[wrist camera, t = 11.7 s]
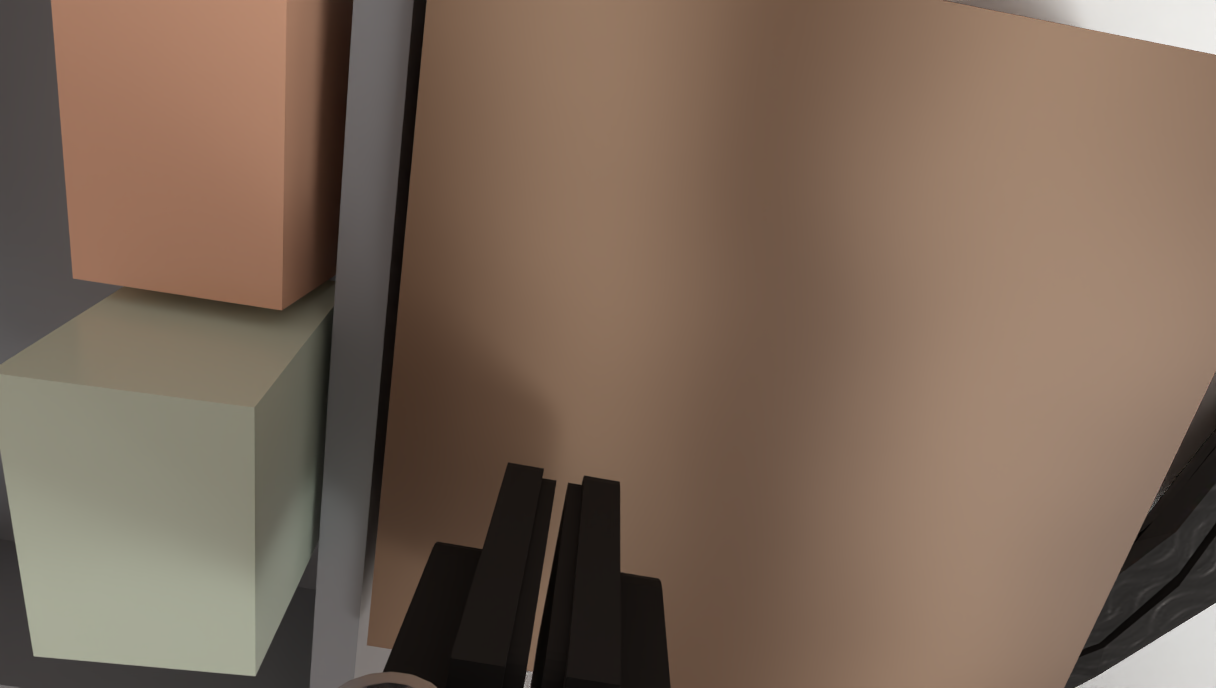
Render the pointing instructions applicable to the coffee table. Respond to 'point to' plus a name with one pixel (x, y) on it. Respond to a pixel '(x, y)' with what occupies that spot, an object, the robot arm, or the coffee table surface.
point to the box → (360, 352)
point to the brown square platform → (807, 319)
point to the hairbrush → (1160, 571)
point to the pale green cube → (167, 476)
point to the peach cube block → (204, 143)
